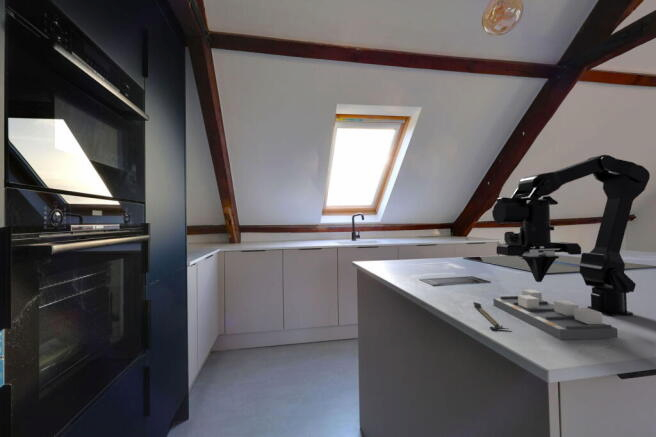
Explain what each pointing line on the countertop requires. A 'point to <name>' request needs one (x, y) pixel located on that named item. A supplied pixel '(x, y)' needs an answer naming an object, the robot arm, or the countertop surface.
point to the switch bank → (555, 320)
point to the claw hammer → (490, 319)
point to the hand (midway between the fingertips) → (538, 281)
